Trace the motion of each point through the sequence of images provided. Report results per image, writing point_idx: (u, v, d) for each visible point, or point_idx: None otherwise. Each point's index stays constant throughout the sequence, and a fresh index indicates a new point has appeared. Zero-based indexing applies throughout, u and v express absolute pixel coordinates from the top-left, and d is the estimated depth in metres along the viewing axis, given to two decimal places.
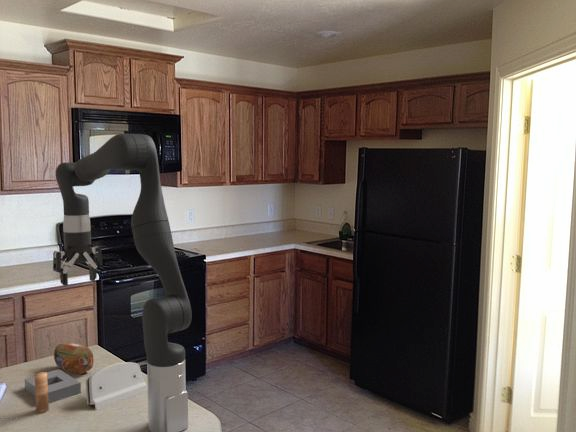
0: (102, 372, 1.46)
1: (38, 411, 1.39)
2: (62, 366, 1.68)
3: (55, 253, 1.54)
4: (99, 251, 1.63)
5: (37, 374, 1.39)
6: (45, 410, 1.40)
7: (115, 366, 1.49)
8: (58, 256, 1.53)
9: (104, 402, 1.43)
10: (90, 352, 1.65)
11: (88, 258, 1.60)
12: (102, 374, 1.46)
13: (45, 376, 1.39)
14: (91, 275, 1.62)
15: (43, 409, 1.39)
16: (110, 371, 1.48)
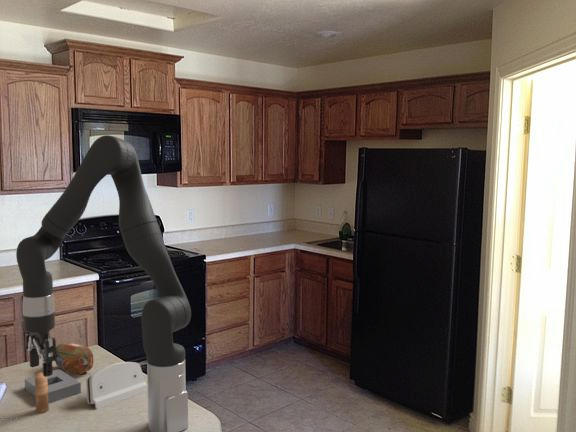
0: (102, 372, 1.46)
1: (38, 411, 1.39)
2: (62, 366, 1.68)
3: (51, 341, 1.34)
4: None
5: (37, 374, 1.39)
6: (45, 410, 1.40)
7: (116, 366, 1.49)
8: None
9: (104, 401, 1.43)
10: (90, 352, 1.64)
11: None
12: (103, 374, 1.46)
13: None
14: (35, 360, 1.42)
15: (43, 409, 1.39)
16: (111, 370, 1.48)
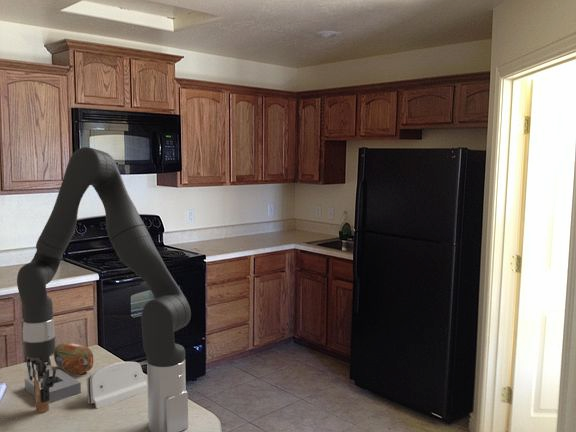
0: (103, 371, 1.47)
1: (38, 411, 1.39)
2: (62, 366, 1.68)
3: (51, 372, 1.35)
4: None
5: None
6: (45, 410, 1.40)
7: (116, 365, 1.50)
8: None
9: (104, 401, 1.44)
10: (90, 352, 1.64)
11: None
12: (103, 373, 1.47)
13: None
14: None
15: (43, 409, 1.39)
16: (111, 370, 1.48)
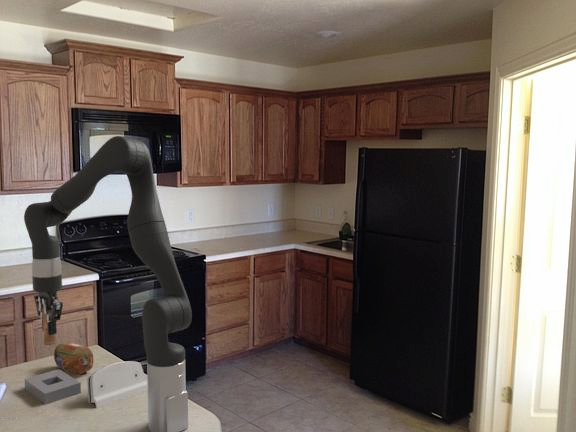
0: (103, 371, 1.47)
1: (46, 343, 1.49)
2: (62, 366, 1.68)
3: (58, 305, 1.45)
4: None
5: None
6: (52, 342, 1.50)
7: (116, 365, 1.50)
8: None
9: (104, 400, 1.44)
10: (90, 352, 1.64)
11: None
12: (104, 373, 1.47)
13: None
14: None
15: (50, 341, 1.49)
16: (111, 369, 1.49)
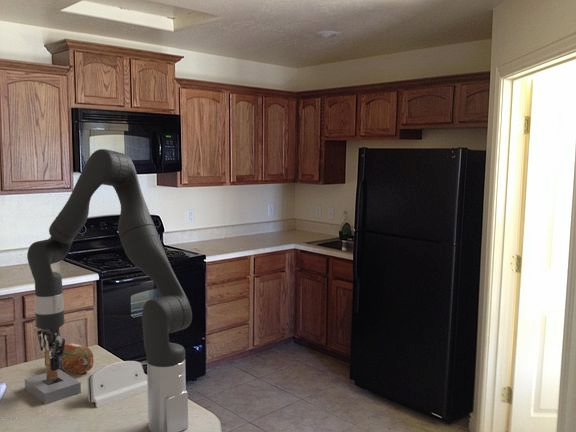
0: (104, 370, 1.47)
1: (48, 378, 1.51)
2: (62, 366, 1.68)
3: (61, 342, 1.47)
4: None
5: None
6: (55, 378, 1.51)
7: (117, 364, 1.50)
8: None
9: (105, 400, 1.44)
10: (90, 352, 1.64)
11: None
12: (104, 373, 1.47)
13: None
14: None
15: (53, 377, 1.51)
16: (112, 369, 1.49)
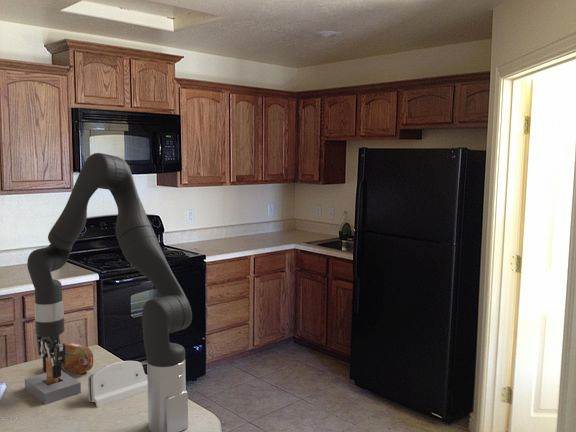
0: (104, 370, 1.47)
1: None
2: (62, 366, 1.68)
3: (61, 347, 1.46)
4: None
5: (48, 357, 1.51)
6: None
7: (117, 364, 1.50)
8: None
9: (105, 400, 1.44)
10: (90, 352, 1.64)
11: None
12: (104, 372, 1.47)
13: None
14: None
15: None
16: (112, 369, 1.49)
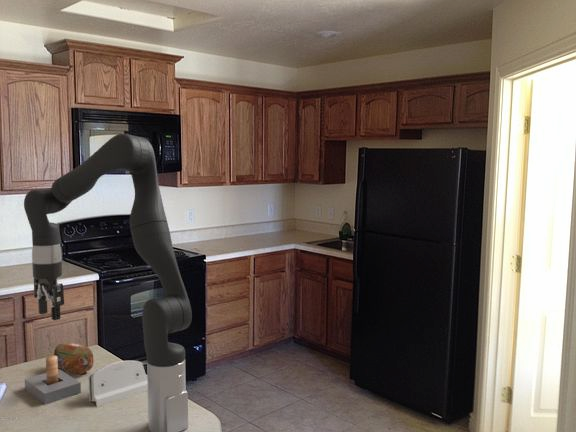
0: (104, 369, 1.48)
1: None
2: (62, 366, 1.68)
3: (59, 286, 1.45)
4: None
5: (48, 357, 1.51)
6: None
7: (118, 364, 1.51)
8: None
9: (105, 399, 1.45)
10: (90, 352, 1.65)
11: None
12: (105, 372, 1.48)
13: (55, 359, 1.51)
14: (44, 307, 1.53)
15: None
16: (113, 368, 1.49)
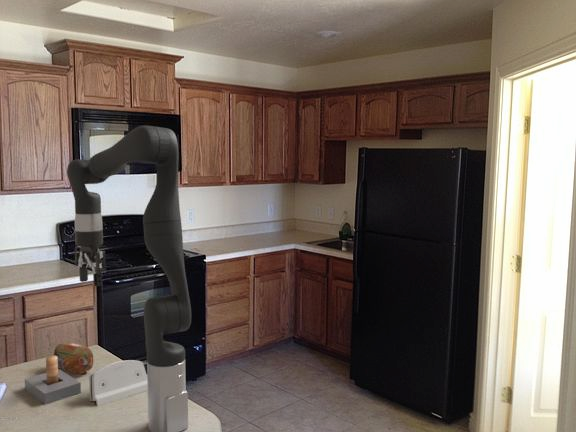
0: (105, 369, 1.48)
1: None
2: (62, 366, 1.68)
3: (101, 253, 1.50)
4: None
5: (48, 357, 1.51)
6: None
7: (118, 363, 1.51)
8: None
9: (105, 399, 1.45)
10: (90, 352, 1.64)
11: None
12: (105, 371, 1.48)
13: (56, 359, 1.51)
14: (84, 275, 1.58)
15: None
16: (113, 368, 1.50)
